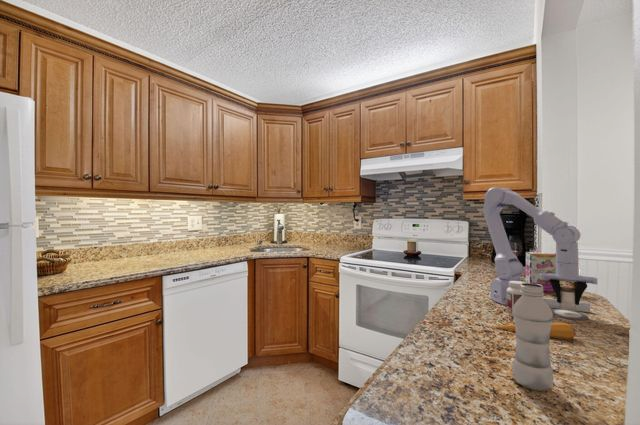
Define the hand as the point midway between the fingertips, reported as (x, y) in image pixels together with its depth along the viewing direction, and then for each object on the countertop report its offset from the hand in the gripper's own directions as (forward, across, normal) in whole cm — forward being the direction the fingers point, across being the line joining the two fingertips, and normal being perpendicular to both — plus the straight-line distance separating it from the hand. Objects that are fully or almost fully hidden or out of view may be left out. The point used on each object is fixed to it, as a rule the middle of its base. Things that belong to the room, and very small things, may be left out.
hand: (567, 303), depth 97 cm
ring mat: (+4, 0, 0) cm, 4 cm away
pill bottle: (+4, +14, +8) cm, 17 cm away
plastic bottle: (+4, +15, +54) cm, 56 cm away
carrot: (+4, +13, +23) cm, 27 cm away
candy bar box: (+4, +2, -33) cm, 33 cm away
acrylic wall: (+4, 0, -7) cm, 8 cm away
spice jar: (+2, 0, 0) cm, 2 cm away
